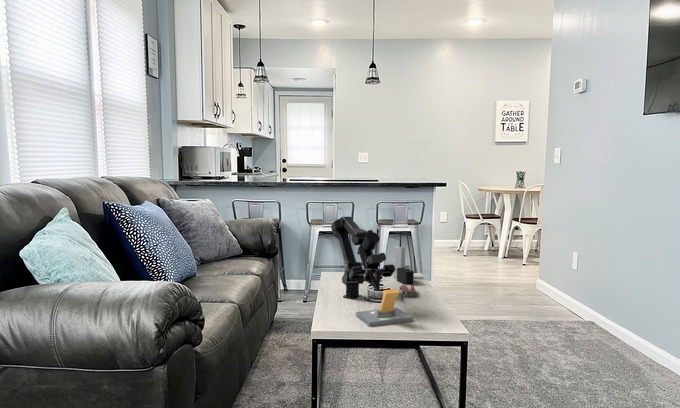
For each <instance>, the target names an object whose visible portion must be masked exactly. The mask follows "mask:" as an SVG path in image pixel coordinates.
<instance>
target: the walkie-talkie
mask: <svg viewBox="0 0 680 408" xmlns="http://www.w3.org/2000/svg"><path fill="white" fill-rule="evenodd" d="M397 290H398V292H399V294H398V296H397V297H396V298H399V300H400V301H403V298H417V296H418V295H417V294H418V293H417V290H416V288H415V286H414V285H404V284H402V285H400V287H399V289H397Z"/></svg>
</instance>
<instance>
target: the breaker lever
mask: <svg viewBox="0 0 680 408" xmlns="http://www.w3.org/2000/svg"><path fill="white" fill-rule="evenodd" d="M398 290H399V289H396V288H392V289H384V290H383V292H382V299H381V303H380V307H379V309H380V310H379V315H387V314H393V307H395V304H396V301H397V298H398V297H397V296H398V294H399V292H398Z"/></svg>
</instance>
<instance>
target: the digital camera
mask: <svg viewBox="0 0 680 408" xmlns="http://www.w3.org/2000/svg"><path fill="white" fill-rule="evenodd" d="M414 273H415V272H414V271H413V270H412V269H410V268H407V267H406V266H405V267H403V268H397V278H396V282H398V283H401V284H402V285H412V286H414V281H415V280H414V278H415V277H414Z"/></svg>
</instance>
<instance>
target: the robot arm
mask: <svg viewBox="0 0 680 408" xmlns="http://www.w3.org/2000/svg"><path fill="white" fill-rule="evenodd" d="M353 219H354V218H353V217H352V216H342V217H340V218H338V219H336V220H334V221H333V222H332V223H331V228H330V229H331V232H332V233H333V235H334V237H335V238H336V239H337V240H338V241H339V244H340V247H341V251H342V256H343V259H344V262H345V269H344V270H343V271H344V272H343V275H342V277H341V283H342V284H343V285H345V294H344V295H343V296H342V298H347V299H351V300H357V299H359V298H360V297H362V296H363V294H360V284H361V285H362V284H364V281H365V282H367V283H368V284H369V285H370V286H371V287H373V289H374V290H375V291H377V292H378V291H380V286H381V285H380V284H381V283H380V282H381V277H383V278H390V277H393V275H394V273H395V270H396V269H395V264H392V263H391V264H390V263H389V264H384V266H383V267H380V266H381V263H384V262H385V261H386V260H387V256H386V254H385V252H380V253H378V254H374V252H373V251H374V250H375V249H376V247H377V246H378V244H379V242H380V239H381V238H380V235H379V234H378V233H376V232H374V231H373V229H367V230H365V229H362V228H361V227H359V225H358V224H357V223H356V222H355V221H354V220H353ZM349 234H350V236H351V240H350V237H349ZM351 242H352V243H351ZM352 244H353V245H354V246H358V248H357V252H356V254H357V255H359V258H360V261H361V262H360V261H357V260H356V257H355V253H354V250H353V246H352Z"/></svg>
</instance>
